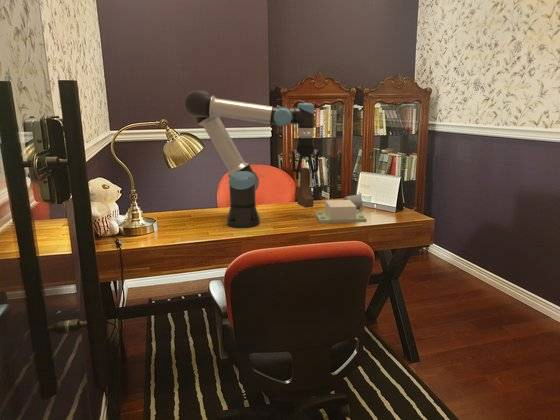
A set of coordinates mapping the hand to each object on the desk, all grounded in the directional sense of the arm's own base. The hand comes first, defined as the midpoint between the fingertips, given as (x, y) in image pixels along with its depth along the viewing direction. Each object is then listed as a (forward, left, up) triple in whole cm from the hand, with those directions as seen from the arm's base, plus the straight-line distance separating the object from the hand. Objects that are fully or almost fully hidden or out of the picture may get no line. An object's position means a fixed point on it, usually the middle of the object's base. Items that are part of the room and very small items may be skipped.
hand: (304, 185), depth 214 cm
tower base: (+16, -6, -15) cm, 23 cm away
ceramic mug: (+27, +9, -15) cm, 32 cm away
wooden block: (0, 0, -10) cm, 10 cm away
